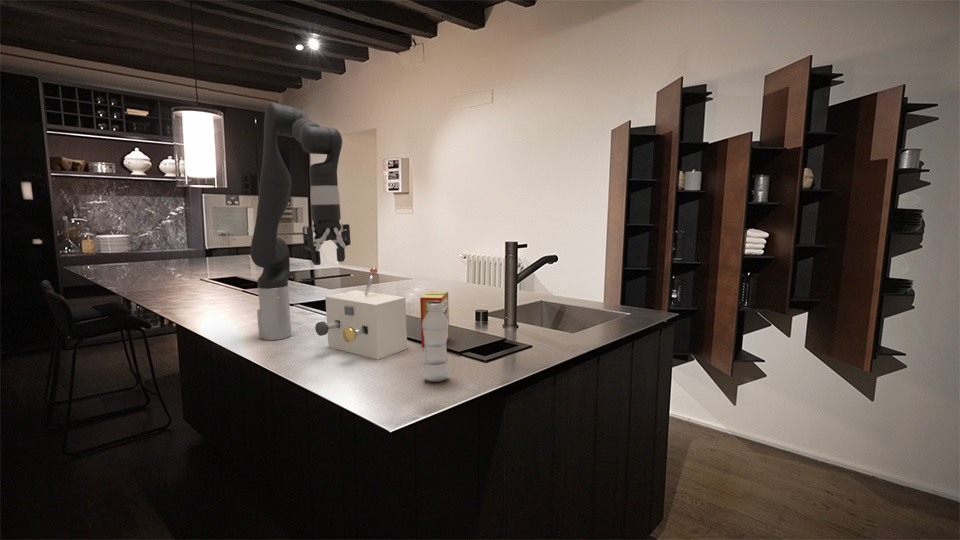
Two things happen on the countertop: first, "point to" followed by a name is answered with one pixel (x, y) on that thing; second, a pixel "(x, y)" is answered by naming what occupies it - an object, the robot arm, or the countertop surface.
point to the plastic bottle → (435, 343)
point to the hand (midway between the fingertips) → (329, 263)
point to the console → (368, 323)
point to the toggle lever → (370, 279)
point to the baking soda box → (434, 297)
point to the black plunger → (325, 327)
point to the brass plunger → (352, 333)
